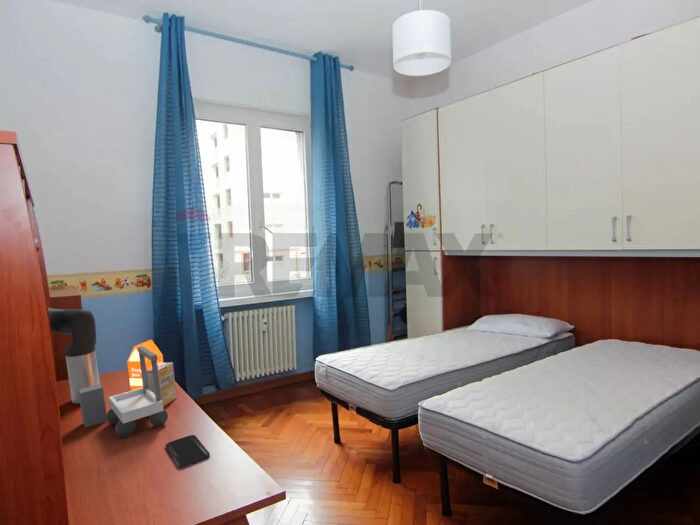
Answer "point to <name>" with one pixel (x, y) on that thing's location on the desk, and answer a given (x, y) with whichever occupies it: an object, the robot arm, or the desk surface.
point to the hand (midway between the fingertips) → (43, 384)
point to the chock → (92, 405)
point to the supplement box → (164, 382)
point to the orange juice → (135, 366)
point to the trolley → (138, 401)
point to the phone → (187, 451)
